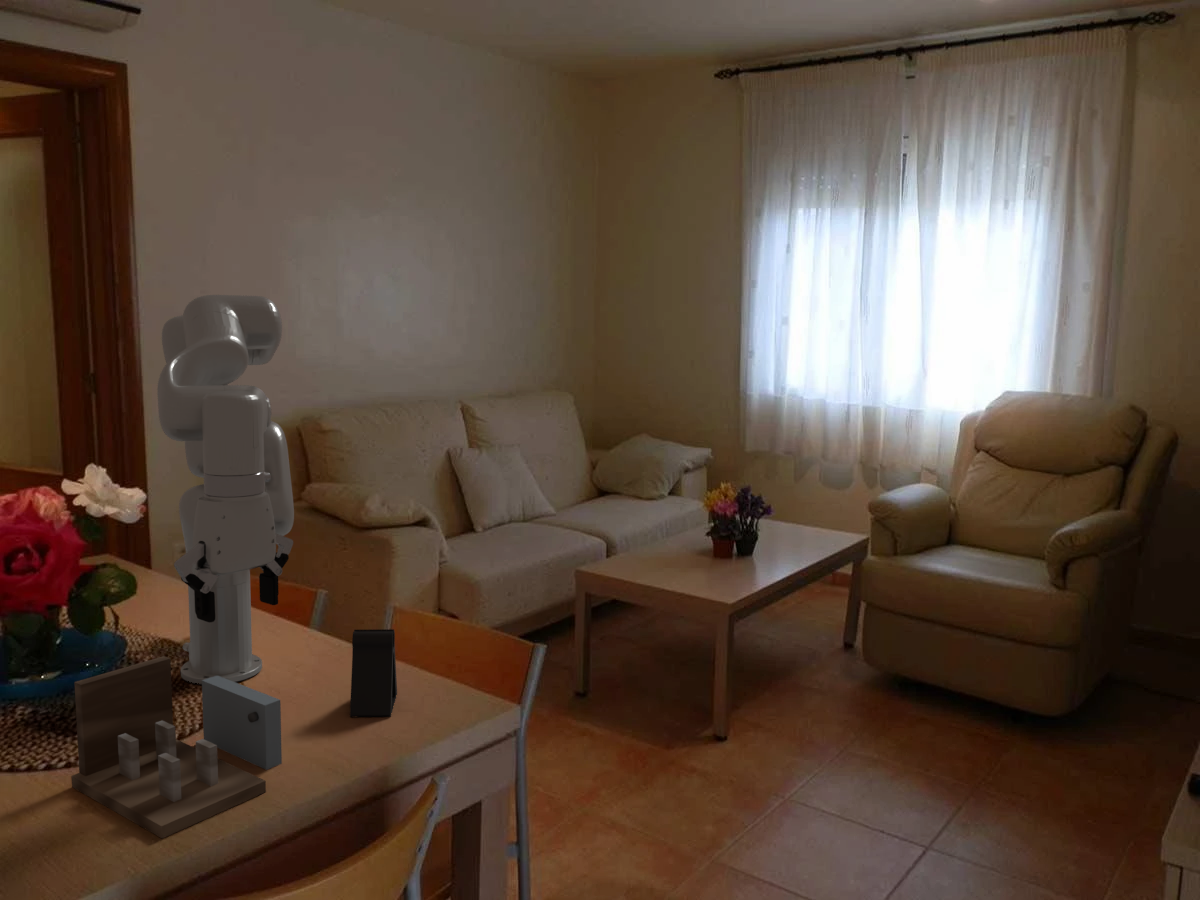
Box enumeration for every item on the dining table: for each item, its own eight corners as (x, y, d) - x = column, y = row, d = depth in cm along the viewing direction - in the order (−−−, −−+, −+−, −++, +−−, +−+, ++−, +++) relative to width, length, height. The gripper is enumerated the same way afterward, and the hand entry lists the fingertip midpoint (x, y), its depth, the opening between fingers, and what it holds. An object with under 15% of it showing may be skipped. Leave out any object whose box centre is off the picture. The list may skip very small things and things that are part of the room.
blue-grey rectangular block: (198, 743, 139) (196, 682, 138) (218, 736, 142) (217, 675, 140) (261, 772, 131) (259, 707, 130) (281, 764, 134) (280, 699, 132)
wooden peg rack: (71, 786, 126) (66, 684, 124) (174, 748, 137) (170, 654, 135) (162, 838, 114) (157, 726, 112) (265, 791, 126) (263, 689, 124)
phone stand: (390, 717, 149) (390, 640, 147) (349, 718, 149) (348, 640, 147) (397, 694, 158) (397, 621, 156) (359, 694, 157) (358, 621, 156)
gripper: (272, 474, 140) (274, 592, 143) (157, 490, 126) (162, 621, 129) (306, 480, 136) (309, 602, 138) (191, 498, 122) (196, 633, 124)
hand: (238, 611), depth 134 cm, fingers open, 9 cm apart
